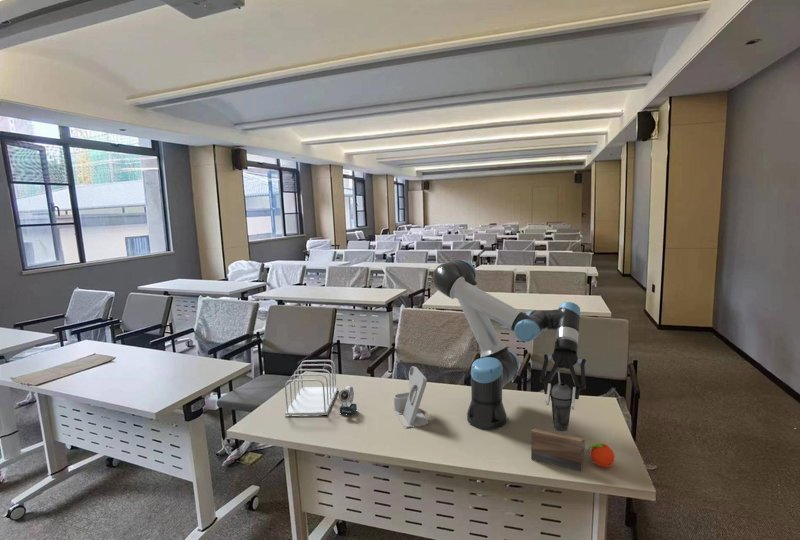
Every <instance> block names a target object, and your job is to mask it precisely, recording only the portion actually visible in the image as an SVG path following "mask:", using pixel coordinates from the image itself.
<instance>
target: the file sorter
mask: <svg viewBox="0 0 800 540" xmlns="http://www.w3.org/2000/svg"><path fill="white" fill-rule="evenodd" d="M306 362H307V364H306ZM308 362H309V363H310V362H311V363H310V364H308ZM313 362H316V363H317V362H329V363H331V364H332V365H333V366H332V365H331V364H329V363H328V364H327V363H317V364H316V363H313ZM308 366H311V367H312V366H313V367H315V366H316V367H317V366H318V367H319V366H321V367H325V366H328V367H330V368H331V372H330V371H329V370H327V368H326V369H324V368H302V367H308ZM299 371H300V372H299ZM303 371H304V372H305V371H306V372H310V371H311V372H312V371H314V372H315V371H316V372H319V371H320V372H327V374H328V377H327V376H326V375H324V374H320V373H319V374H316V373H315V374H314V373H313V374H308V373H307V374H303ZM336 376H337V375H336V365H335V361H333V360H331V359H311V360H310V359H307V360H306V359H305V360H302V361H301V363H300V364H299V366H298V367H297V368H296V370H295V371H294V372H293V374H292V375H291V376H290V377H289V379H288V380H287V381H286V382H285V383H284V394H285V407H286V411H285V412H284V416H285V415H289V416H292V415H308V416H307V417H315V416H314V415H327V416H328V415H329V413H330V411H331V410H330V409H331V408H332V406H331V405H333V403H334V401H335V399H334V398H336V396H337V394H336V393H338V392H339V387H338V386H337V378H336ZM296 377H297V379H296ZM303 377H323V378H324V379H325V380H326V381H325V382H326V386H325V383H324V382H323V381H322V380H321V379H303ZM292 378H293V379H292ZM328 381H329V383H328ZM292 382H293V391H294V393H293V391H292ZM296 382H297V386H296ZM303 382H320V383H321V385H322V386H305V387H304V384H303ZM288 383H289V395H290V403H289V402H288V392H287V391H288V389H287V384H288ZM300 383H301V384H300ZM300 385H301V387H300ZM296 387H297V388H296ZM296 390H297V391H296ZM337 391H338V392H337ZM292 393H293V394H294V398H293V394H292ZM335 395H336V396H335ZM333 400H334V401H333ZM332 402H333V403H332ZM288 403H289V404H288ZM330 407H331V408H330ZM328 412H329V413H328ZM311 415H313V416H311Z"/></svg>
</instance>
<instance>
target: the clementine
mask: <svg viewBox="0 0 800 540" xmlns="http://www.w3.org/2000/svg"><path fill="white" fill-rule="evenodd" d="M587 451H590V452H589V453H590V458H591V460H592V462H593V463H594V464H595V465H597V466H598V467H600V468H609V467H611V466H612V465H613V464H614V463H615V458H616V457H615V453H614V450H613V449H612V448H611V447H610V446H609V445H608V444H605V443H601V442H599V443H597V444H596V443H595V444H592V445H591V446H589V448H588V449H587Z"/></svg>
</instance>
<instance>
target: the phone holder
mask: <svg viewBox="0 0 800 540" xmlns="http://www.w3.org/2000/svg"><path fill="white" fill-rule="evenodd" d="M427 382H428V380H427V377H426V376H425V375H424V374H423V373H422V372H421V371H420V370H419V368H418V367H417V366H411V367H410V369H409V372H408V386H409V391H408V392H404V393H397V394H394V396H393V398H394V399H393V400H394V401H393V403H394V408H393V412H394V411H395V412H396V413H395V412H394V413H395V415H396V414H397V415H396V416H398V417H397V418H399V419H398V421H399V422H400V421H401V422H400V424H401V423H402V424H401V425H403V426H404V427H411V428H414V427H413V426H417V427H422V426H421V425H423V426H426V425H429V421H428V419H427V418H426V416H425V415H424V414H423V413H422V410H420V405H421V402H422V398H423V396H424V393H425V390H426V386H427V384H428V383H427ZM399 415H403V416H404V418H405V420H406V422H407V423H408V425H407V426H405V424H404V422H403V421H402V419H401V417H400V416H399ZM403 426H402V427H403ZM404 427H403V428H404Z"/></svg>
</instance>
